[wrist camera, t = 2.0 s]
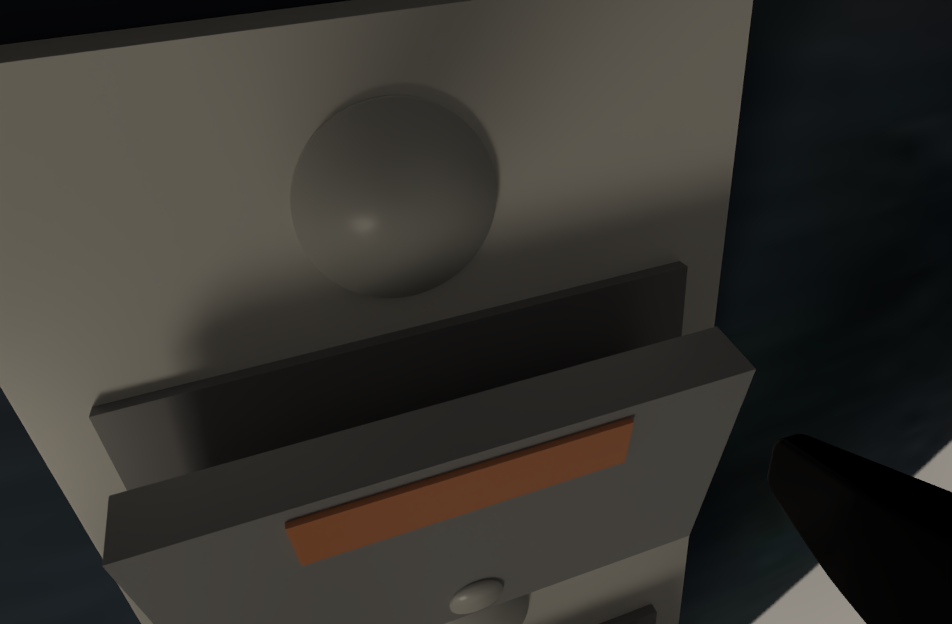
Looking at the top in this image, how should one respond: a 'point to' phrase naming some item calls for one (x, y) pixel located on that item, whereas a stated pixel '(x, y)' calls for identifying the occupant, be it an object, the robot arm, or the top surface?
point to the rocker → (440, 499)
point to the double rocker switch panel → (355, 230)
